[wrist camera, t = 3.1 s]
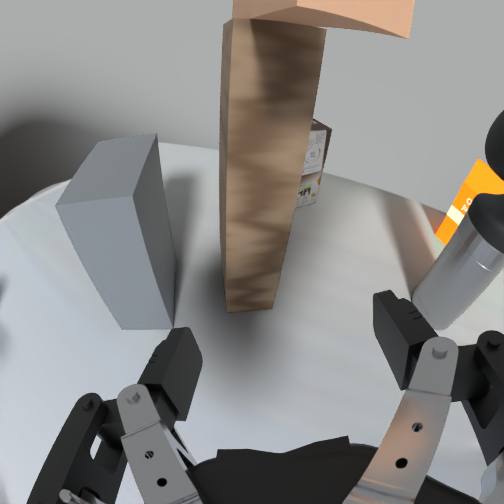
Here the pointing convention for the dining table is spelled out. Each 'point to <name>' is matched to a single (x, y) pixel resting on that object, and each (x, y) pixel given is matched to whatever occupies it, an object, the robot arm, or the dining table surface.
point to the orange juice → (469, 197)
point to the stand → (262, 149)
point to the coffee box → (313, 163)
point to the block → (334, 13)
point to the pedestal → (124, 230)
